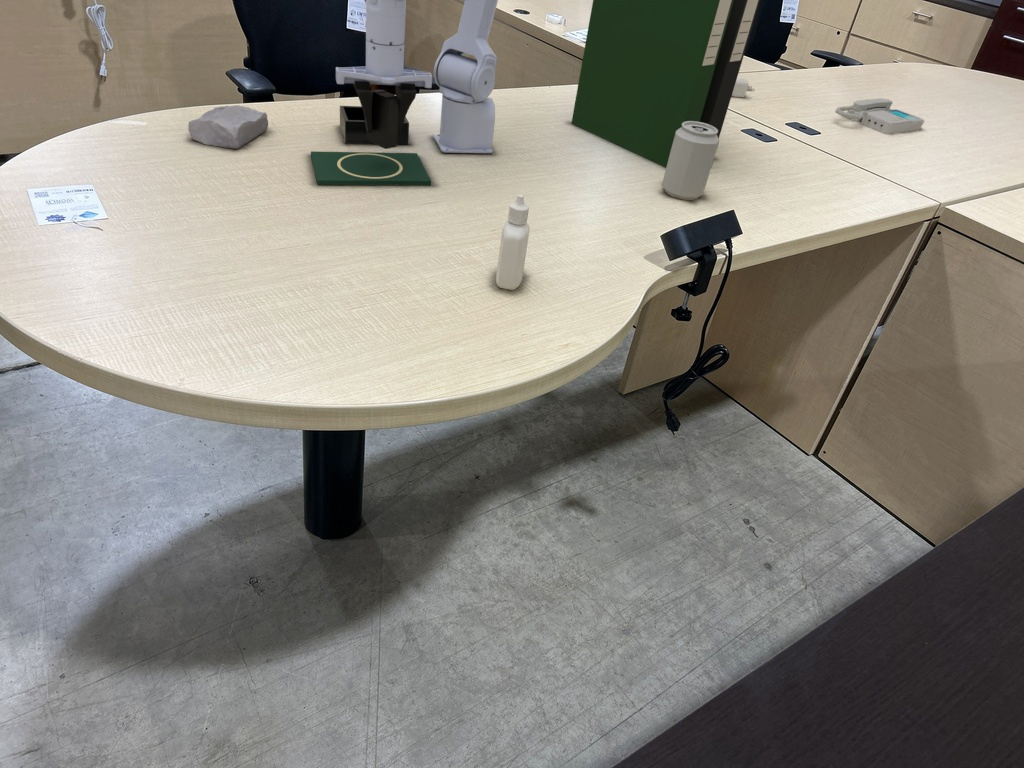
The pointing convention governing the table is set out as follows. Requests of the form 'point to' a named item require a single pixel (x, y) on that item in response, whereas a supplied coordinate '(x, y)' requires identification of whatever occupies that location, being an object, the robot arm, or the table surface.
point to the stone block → (228, 126)
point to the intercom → (881, 116)
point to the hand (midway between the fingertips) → (383, 131)
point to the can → (690, 160)
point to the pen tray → (363, 127)
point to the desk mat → (368, 168)
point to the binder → (659, 69)
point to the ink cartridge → (384, 119)
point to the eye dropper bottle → (513, 246)
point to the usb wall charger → (741, 88)
